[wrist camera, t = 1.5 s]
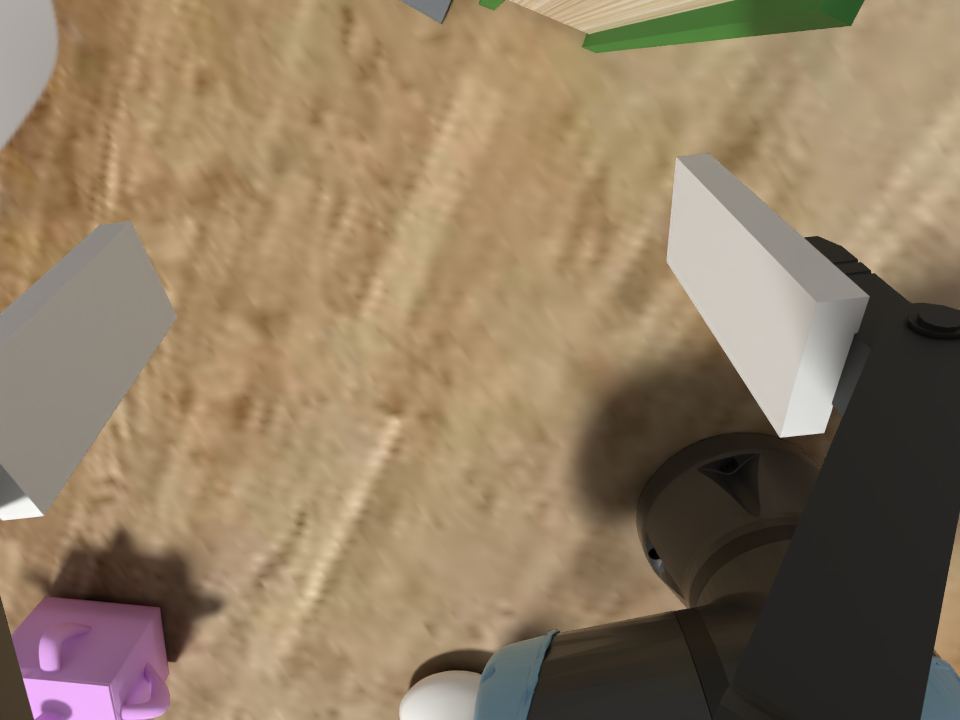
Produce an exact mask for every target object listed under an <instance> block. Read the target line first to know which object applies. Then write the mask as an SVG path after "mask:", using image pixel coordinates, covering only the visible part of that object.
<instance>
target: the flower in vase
mask: <svg viewBox="0 0 960 720" xmlns="http://www.w3.org/2000/svg"><path fill="white" fill-rule="evenodd" d="M481 676H482V674H479V673H475V672H470V671H445V672H439V673H436V674H432V675H430V676H427V677H425V678H423V679H422V680H420V681H419V682H417V683H416V684H415V685H414V686H413V687H412V688H411V689H410V690H409V691H408V692H407V693H406V694H405V696H404V697H403V699H402V701H401V704H400V708H399V716H400V720H473V718H474V710H475V703H476V696H477V691H478V688H479V683H480V679H481Z"/></svg>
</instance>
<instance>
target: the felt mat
mask: <svg viewBox="0 0 960 720" xmlns="http://www.w3.org/2000/svg"><path fill="white" fill-rule="evenodd" d="M401 1H402V2H404V3H406V4H408V5H409V6H411V7H413V8H415V9H416V10H418V11H420V12H422V13H423V14H425V15H427V16H429V17H430V18H432V19H434V20H436V21H437V22H439V23H441V24H442V23H443V20H444V18H445V16H446V13H447V11H448V9H449V6H450V4H451V1H452V0H401Z"/></svg>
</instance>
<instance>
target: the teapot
mask: <svg viewBox="0 0 960 720" xmlns="http://www.w3.org/2000/svg"><path fill="white" fill-rule="evenodd" d="M11 637H12V641H13V644H14V648H15V652H16V655H17V659H18V663H19V666H20V670H21V673H22V677H23V681H24V684H25V688H26V692H27V695H28V699H29V703H30V706H31V710H32V714H33V717H34V720H144V719H149V718H154V717H157V716H160V715H161V714H163V713H164V712H165V711H166V710H167V709H168V707H169V704H170V694H169V690H168V688H167V685H166V684H165V680H166V678H167V677H168V675H169V669H168V662H167V655H166V648H165V640H164V633H163V626H162V619H161V611H160V607H152V606H142V605H132V604H121V603H111V602H101V601H90V600H80V599H69V598H59V597H48V596H46V597H45V598H44V599H43V600H42V601H41V602H40V603H39V604H38V605H37V607H36V608H35V609H34V610H33V611H32V612H31V613H30V615H29V616H28V617H27V618H26V619H25V620H24V621H23V622H22V624H21V625H20V626H19V627H18V628H17V629H16V630H15V631H14V633H13V634H12V635H11Z"/></svg>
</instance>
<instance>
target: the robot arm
mask: <svg viewBox="0 0 960 720" xmlns="http://www.w3.org/2000/svg"><path fill="white" fill-rule="evenodd" d="M667 263H668V265H669V266H670V268H671V269H672V271H673V272H674V274H675V276H676V277H677V279H678V280H679V282H680V283H681V285H682V286H683V288H684V289H685V291H686V293H687V294H688V296H689V297H690V299H691V300H692V302H693V303H694V305H695V307H696V308H697V310H698V311H699V313H700V314H701V316H702V317H703V319H704V321H705V322H706V324H707V325H708V327H709V328H710V330H711V331H712V333H713V334H714V336H715V338H716V339H717V341H718V342H719V344H720V345H721V347H722V348H723V350H724V352H725V353H726V355H727V356H728V358H729V359H730V361H731V362H732V364H733V366H734V367H735V369H736V370H737V372H738V373H739V375H740V376H741V378H742V379H743V381H744V383H745V384H746V386H747V387H748V389H749V390H750V392H751V393H752V395H753V397H754V398H755V400H756V401H757V403H758V404H759V406H760V407H761V409H762V411H763V412H764V414H765V415H766V417H767V418H768V420H769V421H770V423H771V424H772V426H773V428H774V429H775V431H776V432H777V434H778V435H779V437H780V438H781V437H791V436H800V435H810V434H819V433H824V432H825V429H826V426H827V423H828V420H829V417H830V414H831V411H832V408H833V406H834V407H835V409H836V410H837V411H838V412H839V414H840V415H841V416H842V417H843V418H842V420H841V422H840V425H839V427H838V430H837V432H836V434H835V437H834V439H833V441H832V444H831V446H830V449H829V451H828V453H827V456H826V458H825V461H824V463H823V465H822V468H821V470H820V469H819V468H818V467H817V466H816V464H815V463H814V462H813V461H812V460H811V459H810V458H809V457H808V456H807V455H806V454H805V453H804V452H803V451H802V450H800V449H799V448H797V447H796V446H794V445H793V444H791V443H789V442H787V441H784V440H782V439H779V438H776V437H773V436H768V435H763V434H756V433H735V434H727V435H721V436H717V437H713V438H709V439H706V440H703V441H701V442H698V443H696V444H694V445H691V446H689V447H688V448H686V449H684V450H682V451H681V452H679V453H677V454H676V455H674V456H673V457H672V458H670V459H669V460H668V461H667V462H665V463H664V464H663V465H662V466H661V467H660V468H659V469H658V470H657V471H656V472H655V474H654V475H653V476H652V477H651V479H650V480H649V482H648V483H647V485H646V487H645V488H644V490H643V492H642V495H641V497H640V500H639V503H638V508H637V514H636V525H637V532H638V535H639V539H640V542H641V545H642V547H643V550H644V553H645V556H646V558H647V560H648V562H649V564H650V566H651V567H652V569H653V570H654V572H655V573H656V574H657V575H658V577H659V578H660V579H661V580H662V581H663V582H664V583H665V584H666V585H667V587H668V588H669V589H670V590H671V591H672V592H673V593H674V594H675V595H676V597H677V598H678V599H679V600H680V601H681V602H682V603H683V604H684V605H685V607H686V608H687V609H683V610H678V611H670V612H665V613H659V614H654V615H649V616H644V617H639V618H634V619H629V620H624V621H619V622H613V623H608V624H603V625H598V626H593V627H588V628H583V629H578V630H573V631H567V632H562V633H560V631H558V630H557V629H556V630H551V631H549V632H548V633H547V634H546V635H544V636H540V637H536V638H532V639H528V640H524V641H520V642H516V643H512V644H508V645H506V646H503V647H502V648H500V649H498V650H497V651H496V652H495V653H494V654H493V655H492V656H491V658H490V659H489V661H488V662H487V664H486V666H485V668H484V670H483V673H482V676H481V679H480V683H479V688H478V691H477V696H476V703H475V710H474V718H473V720H960V679H959V676H958V675H957V673H956V672H955V670H954V669H953V668H952V667H951V665H950V664H949V663H948V662H946V661H945V660H942V659H941V657H940V656H939V655H938V654H937V652H936V651H935V650H934V645H935V640H936V635H937V629H938V624H939V619H940V613H941V608H942V603H943V597H944V592H945V587H946V581H947V576H948V571H949V565H950V560H951V555H952V549H953V544H954V539H955V533H956V528H957V523H958V517H959V512H960V310H956V309H953V308H949V307H946V306H942V305H934V304H926V303H915V304H911V303H910V302H909V301H907V300H906V299H905V298H904V297H903V296H901V295H900V294H899V293H898V292H896V291H895V290H894V289H893V288H892V287H890V286H889V285H888V284H887V283H886V282H884V281H883V280H882V279H881V278H880V277H878V276H877V275H876V274H875V273H873V274H871V270H870V269H869V268H867V267H866V266H865V265H864V264H863V263H861V262H859V263H858V259H857V258H855V257H854V256H853V255H852V254H851V253H849V252H848V251H847V250H846V249H844V248H843V247H842V246H840V245H837V244H835V243H833V242H830V241H828V240H826V239H823V238H821V237H818V236H814V237H805V238H803V237H802V236H801V235H800V234H799V233H798V232H797V231H796V230H795V229H793V228H792V227H791V226H790V225H789V224H788V223H787V222H786V221H784V220H783V219H782V218H781V217H780V216H779V215H778V214H777V213H775V212H774V211H773V210H772V209H771V208H770V207H769V206H768V205H766V204H765V203H764V202H763V201H762V200H761V199H760V198H759V197H757V196H756V195H755V194H754V193H753V192H752V191H751V190H750V189H749V188H747V187H746V186H745V185H744V184H743V183H742V182H741V181H740V180H738V179H737V178H736V177H735V176H734V175H733V174H732V173H731V172H729V171H728V170H727V169H726V168H725V167H724V166H723V165H722V164H720V163H719V162H718V161H717V160H716V159H715V158H714V157H713V156H711V155H710V154H709V153H706V154H698V155H689V156H681V157H676V166H675V177H674V187H673V198H672V209H671V219H670V230H669V241H668V251H667ZM176 319H177V315H176V313H175V311H174V309H173V307H172V305H171V303H170V301H169V299H168V297H167V294H166V292H165V290H164V288H163V286H162V284H161V282H160V280H159V278H158V276H157V274H156V272H155V270H154V267H153V265H152V263H151V261H150V259H149V257H148V255H147V253H146V251H145V249H144V247H143V245H142V243H141V240H140V238H139V236H138V234H137V232H136V230H135V228H134V226H133V224H132V222H131V221H129V222H121V223H112V224H104V225H100V226H98V227H97V228H96V229H95V230H94V231H93V232H92V233H91V234H89V235H88V236H87V237H86V238H85V239H84V240H83V241H81V242H80V243H79V244H78V245H77V246H76V247H75V248H74V249H72V250H71V251H70V252H69V253H68V254H67V255H66V256H65V257H63V258H62V259H61V260H60V261H59V262H58V263H57V264H56V265H54V266H53V267H52V268H51V269H50V270H49V271H48V272H47V273H45V274H44V275H43V276H42V277H41V278H40V279H39V280H38V281H36V282H35V283H34V284H33V285H32V286H31V287H30V288H29V289H27V290H26V291H25V292H24V293H23V294H22V295H21V296H20V297H18V298H17V299H16V300H15V301H14V302H13V303H12V304H11V305H9V306H8V307H7V308H6V309H5V310H4V311H3V312H2V313H0V518H1V519H2V520H10V519H19V518H29V517H38V516H44V515H45V514H46V512H47V511H48V509H49V508H50V506H51V505H52V503H53V502H54V500H55V499H56V497H57V496H58V494H59V493H60V491H61V490H62V488H63V487H64V485H65V484H66V482H67V481H68V479H69V478H70V477H71V475H72V474H73V472H74V471H75V469H76V468H77V466H78V465H79V463H80V462H81V460H82V459H83V457H84V456H85V454H86V453H87V451H88V450H89V448H90V447H91V445H92V444H93V442H94V441H95V439H96V438H97V436H98V435H99V433H100V432H101V430H102V429H103V427H104V426H105V424H106V423H107V421H108V420H109V418H110V417H111V415H112V414H113V412H114V411H115V410H116V408H117V407H118V405H119V404H120V402H121V401H122V399H123V398H124V396H125V395H126V393H127V392H128V390H129V389H130V387H131V386H132V384H133V383H134V381H135V380H136V378H137V377H138V375H139V374H140V372H141V371H142V369H143V368H144V366H145V365H146V363H147V362H148V360H149V359H150V357H151V356H152V354H153V353H154V351H155V350H156V348H157V347H158V345H159V344H160V342H161V341H162V340H163V338H164V337H165V335H166V334H167V332H168V331H169V329H170V328H171V326H172V325H173V323H174V322H175V320H176ZM0 720H34V717H33V714H32V710H31V706H30V703H29V699H28V695H27V692H26V688H25V684H24V681H23V677H22V673H21V670H20V666H19V663H18V659H17V655H16V652H15V648H14V644H13V641H12V637H11V633H10V630H9V626H8V622H7V619H6V615H5V612H4V608H3V604H2V601H1V597H0Z"/></svg>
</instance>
